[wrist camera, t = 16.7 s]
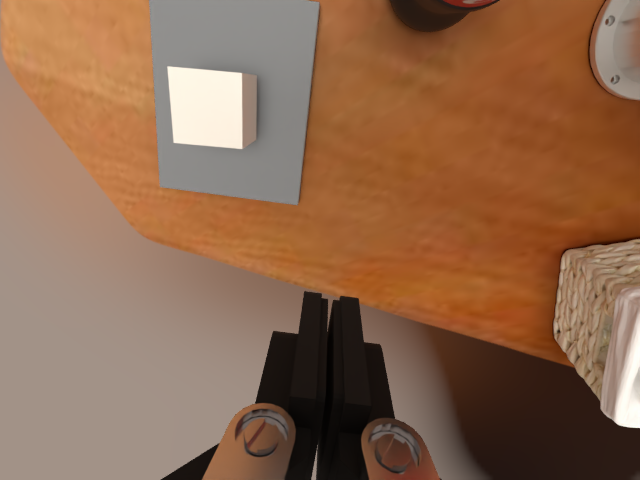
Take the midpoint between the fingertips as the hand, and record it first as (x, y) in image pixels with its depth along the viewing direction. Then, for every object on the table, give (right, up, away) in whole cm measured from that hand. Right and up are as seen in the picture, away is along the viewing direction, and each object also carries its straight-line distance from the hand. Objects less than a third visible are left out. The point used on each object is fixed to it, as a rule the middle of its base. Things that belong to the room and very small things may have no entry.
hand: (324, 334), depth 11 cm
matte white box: (-9, +16, +24) cm, 30 cm away
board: (-9, +18, +28) cm, 34 cm away
